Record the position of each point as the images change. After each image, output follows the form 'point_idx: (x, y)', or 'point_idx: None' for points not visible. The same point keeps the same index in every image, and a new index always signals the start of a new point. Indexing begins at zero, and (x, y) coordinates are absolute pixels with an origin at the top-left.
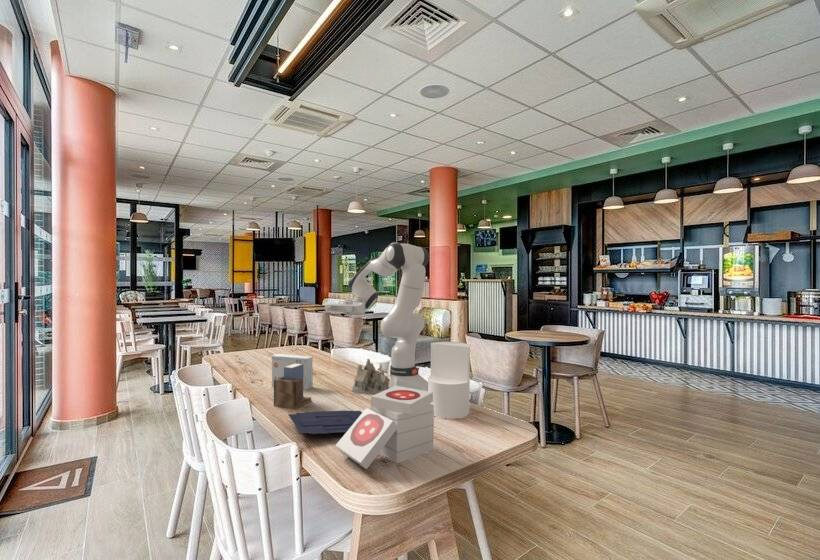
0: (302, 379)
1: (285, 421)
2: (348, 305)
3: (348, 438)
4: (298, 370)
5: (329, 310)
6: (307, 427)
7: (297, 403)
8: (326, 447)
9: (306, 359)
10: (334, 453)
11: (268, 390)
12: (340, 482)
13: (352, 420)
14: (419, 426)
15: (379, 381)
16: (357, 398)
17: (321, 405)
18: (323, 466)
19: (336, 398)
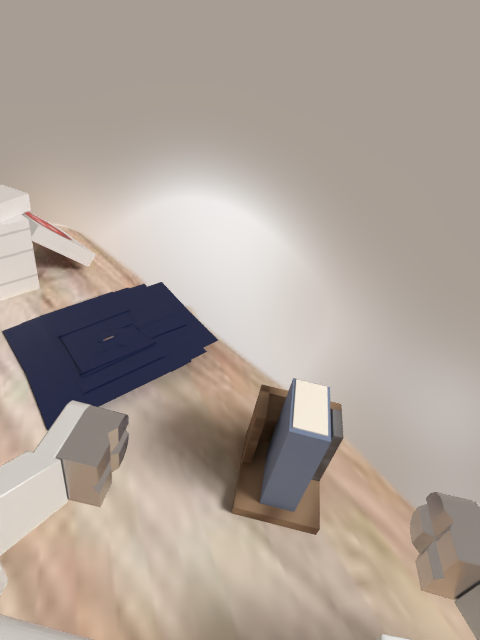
0: (256, 417)
1: (227, 367)
2: (7, 625)
3: (75, 242)
4: (287, 416)
5: (420, 525)
6: (156, 300)
7: (246, 439)
8: (115, 289)
9: (387, 637)
10: (99, 277)
11: (469, 631)
12: (85, 237)
13: (71, 351)
14: None
15: None
16: (50, 567)
17: (180, 469)
18: (110, 257)
19: (143, 554)
